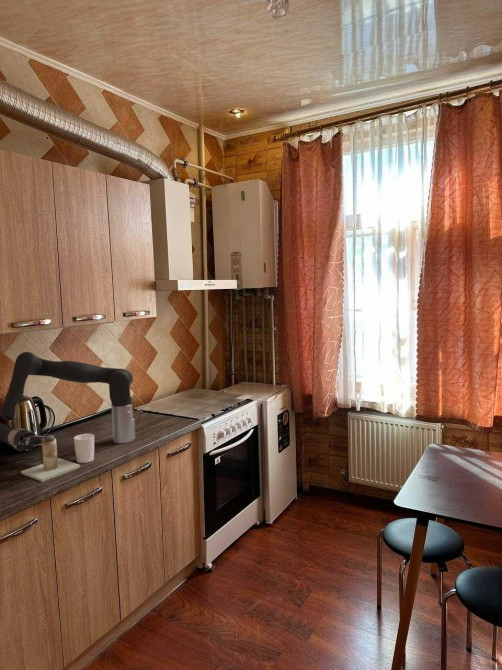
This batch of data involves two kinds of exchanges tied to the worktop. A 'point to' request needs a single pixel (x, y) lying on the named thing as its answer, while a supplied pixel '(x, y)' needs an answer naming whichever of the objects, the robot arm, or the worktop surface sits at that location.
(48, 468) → the pepper mill
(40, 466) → the board
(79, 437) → the white cup
